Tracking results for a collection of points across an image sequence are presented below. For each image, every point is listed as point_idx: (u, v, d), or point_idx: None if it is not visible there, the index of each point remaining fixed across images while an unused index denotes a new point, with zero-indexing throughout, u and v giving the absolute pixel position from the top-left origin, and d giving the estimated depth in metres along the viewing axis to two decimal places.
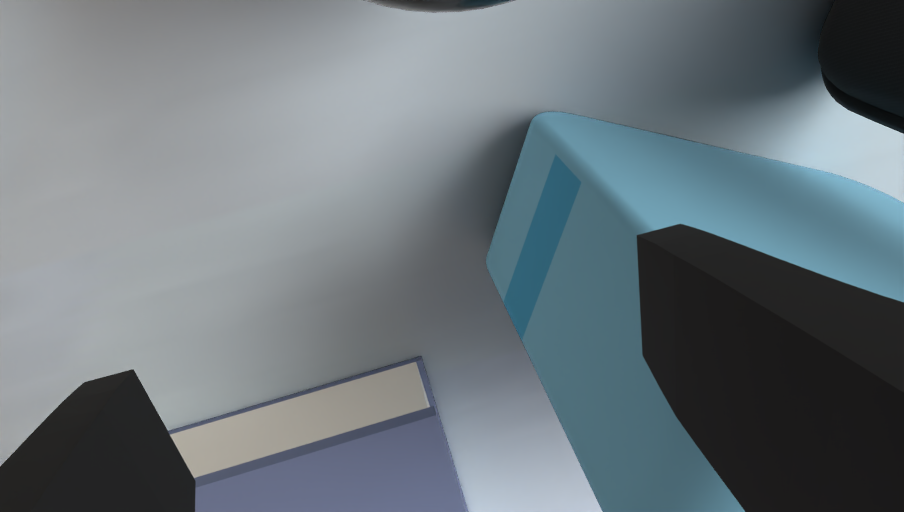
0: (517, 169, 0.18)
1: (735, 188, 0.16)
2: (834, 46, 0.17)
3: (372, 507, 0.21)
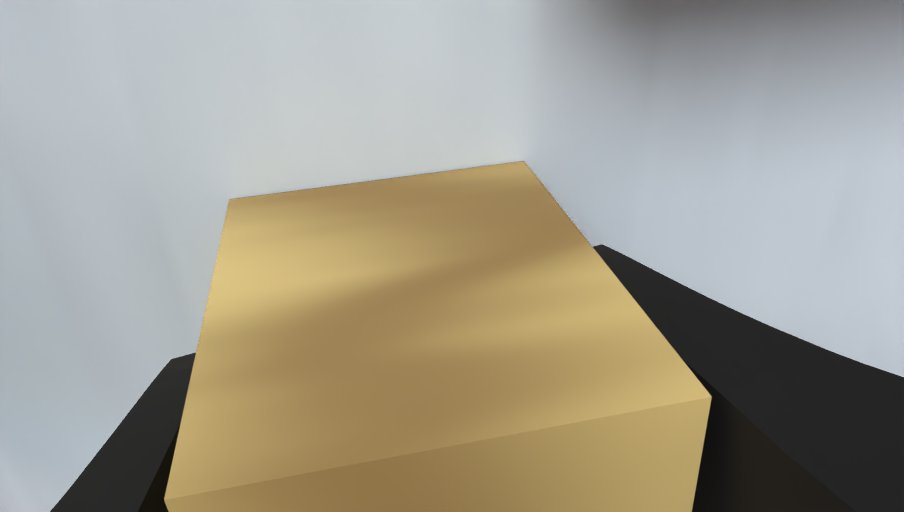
0: None
1: None
2: None
3: None
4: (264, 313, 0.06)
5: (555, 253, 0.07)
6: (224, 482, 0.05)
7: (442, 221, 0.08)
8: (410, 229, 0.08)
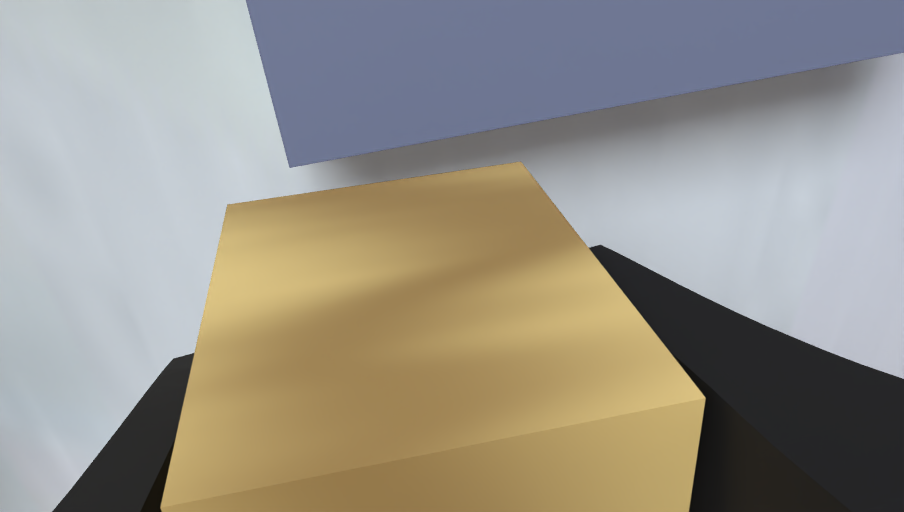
0: None
1: None
2: None
3: None
4: (260, 319, 0.07)
5: (551, 255, 0.07)
6: (220, 489, 0.05)
7: (438, 224, 0.08)
8: (406, 232, 0.08)
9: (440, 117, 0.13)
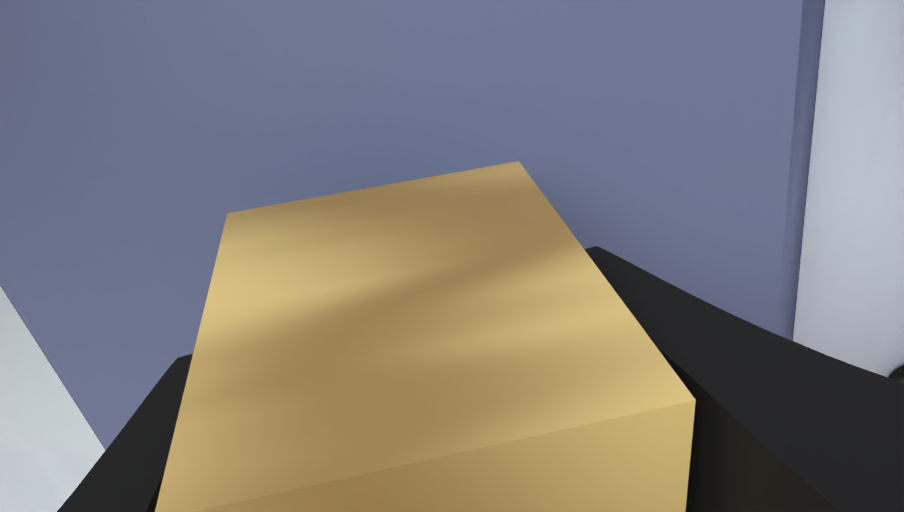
0: None
1: None
2: None
3: (132, 137, 0.10)
4: (256, 329, 0.07)
5: (546, 256, 0.07)
6: (211, 501, 0.05)
7: (434, 227, 0.08)
8: (402, 237, 0.08)
9: None
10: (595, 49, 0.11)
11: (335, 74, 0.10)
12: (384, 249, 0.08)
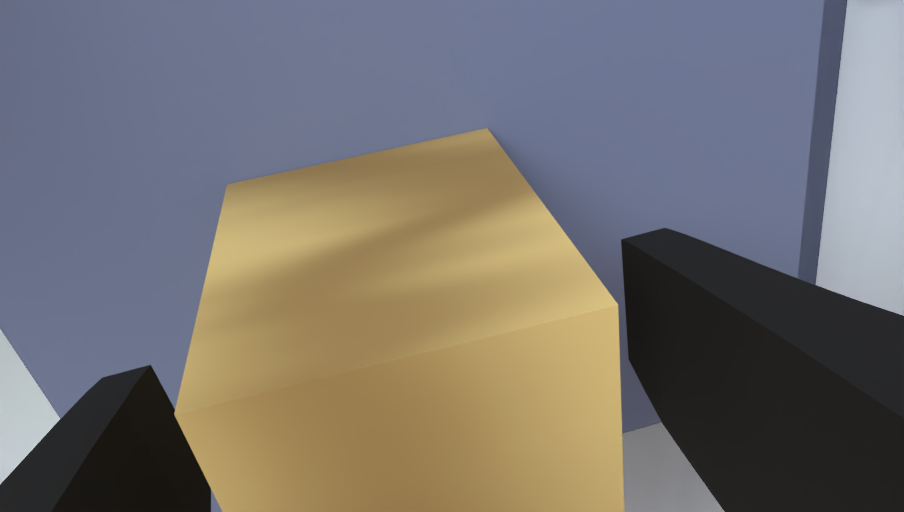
0: None
1: None
2: None
3: (123, 152, 0.10)
4: (254, 272, 0.08)
5: (504, 203, 0.08)
6: (221, 399, 0.06)
7: (409, 186, 0.09)
8: (381, 195, 0.09)
9: None
10: (606, 59, 0.10)
11: (335, 85, 0.10)
12: (365, 206, 0.09)
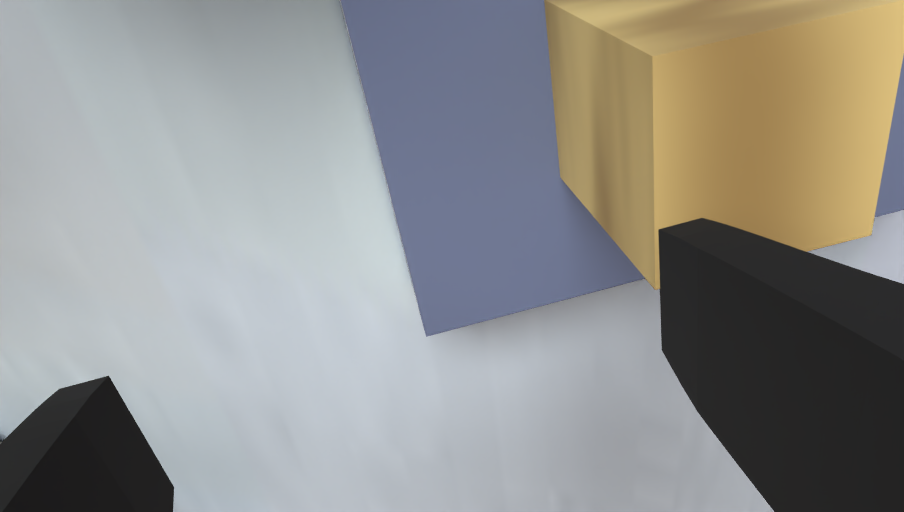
0: None
1: None
2: None
3: None
4: (628, 19, 0.11)
5: None
6: (675, 50, 0.10)
7: None
8: None
9: (538, 292, 0.17)
10: None
11: None
12: None
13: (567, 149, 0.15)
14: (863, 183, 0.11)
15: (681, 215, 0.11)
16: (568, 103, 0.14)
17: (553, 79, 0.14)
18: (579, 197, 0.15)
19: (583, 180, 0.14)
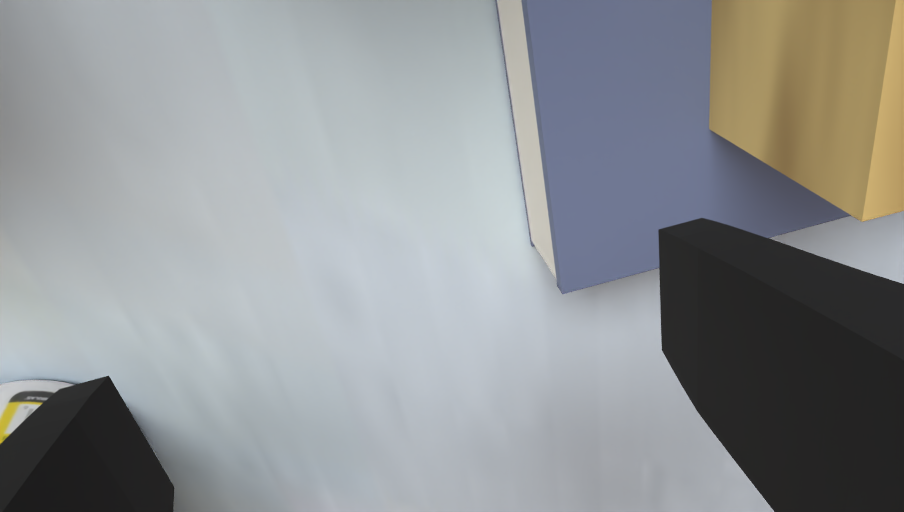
0: None
1: None
2: None
3: None
4: None
5: None
6: None
7: None
8: None
9: None
10: None
11: None
12: None
13: (727, 97, 0.15)
14: None
15: (899, 142, 0.11)
16: (738, 48, 0.14)
17: (715, 26, 0.14)
18: (740, 145, 0.15)
19: (751, 125, 0.14)
